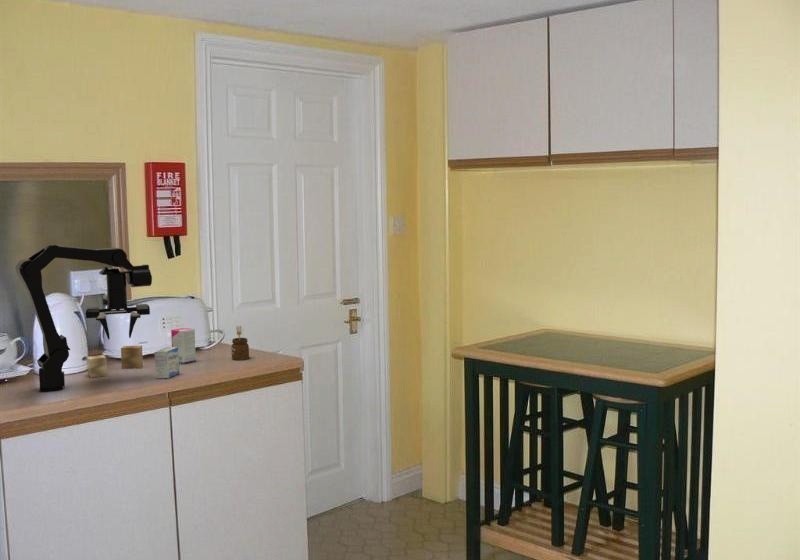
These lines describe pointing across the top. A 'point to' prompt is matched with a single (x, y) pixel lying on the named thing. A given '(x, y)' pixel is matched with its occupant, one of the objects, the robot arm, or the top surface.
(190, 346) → the supplement box
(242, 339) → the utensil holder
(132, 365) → the oak block
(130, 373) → the top surface
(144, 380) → the top surface
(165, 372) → the medicine box
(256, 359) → the top surface
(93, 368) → the beech block
